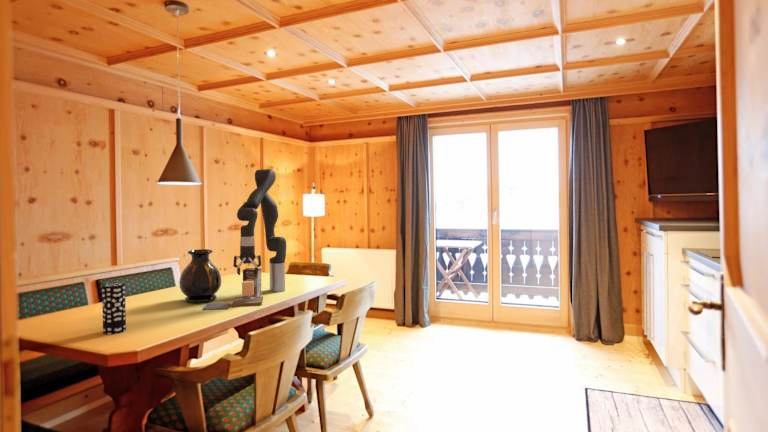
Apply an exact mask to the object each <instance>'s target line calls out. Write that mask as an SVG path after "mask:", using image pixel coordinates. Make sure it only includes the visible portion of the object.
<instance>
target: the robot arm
mask: <svg viewBox="0 0 768 432" xmlns="http://www.w3.org/2000/svg"><path fill="white" fill-rule="evenodd" d="M276 177H277V176H276V172H275V170H274V169H271V168H264V169H263V168H262V169H257V170H256V171H255V173H254V181H255V186H256V188H255V189H254V190H253V191H252V192H251V193H250V194H249V196H248V198H247V200H246V201H245V202H244V203H243V204H242V205H241V206H240V207H239V208H238V209H237V213H236V217H237V219H238V220H239V221H240V222H243V221H244V222H247V224H246V225H242V226H241V227H240V238H239V239H240V240H239V249H240V250H239V255H234V256H233V266H232V267H233V268H236V273H237V275H238V276H241V266H242V265H243V264H244V265H245V264H246V265H247V264H252V265H253V267H254V268H255V275H256V274H257V273H258V269H259V267H262V257H261V254H259V255H256V254H255V250H256V249H255V247H256V246H255V245H256V241H255V228H256V223H257V220H258V216H259V215H258V211H257V210H258V208H259V207H260V208H261V213H262V215H261V216H262V218H263V225H264V231H265V244H266V248H267V250H268V251H269V252H274V253H275V255H274V256H272V257H270V258H269V291H270V292H272V293H273V292H275V293H277V292H284V291H285V290H286V257H287V240H286V238H285V237H284V236H275V226H276V223H277V221H278V219H279V209H278V205H277V203H276V201H275V200H274V199H273V198H272V197H271V195H270V193H268V192H269V190H270V189H271V188H272V186H273V185H275V184H274V183H275V182H276ZM238 259H240V262H239V263H238V264H237V262H238ZM255 259H256V260H257V261H258V264H257V263H256V261H255Z"/></svg>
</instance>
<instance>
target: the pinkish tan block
mask: <svg viewBox="0 0 768 432" xmlns="http://www.w3.org/2000/svg"><path fill="white" fill-rule="evenodd" d="M253 294H254V281H243V280H242V282H241V296H242V297H243V296H252V295H253Z"/></svg>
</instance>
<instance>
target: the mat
mask: <svg viewBox="0 0 768 432" xmlns="http://www.w3.org/2000/svg"><path fill="white" fill-rule="evenodd" d="M231 305H232V302H214V303H213V302H212V303H210V302H209V303H206V304H205V305H204V307H203V308H202V311H215V310H216V311H217V310H229V307H230V306H231Z"/></svg>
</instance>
